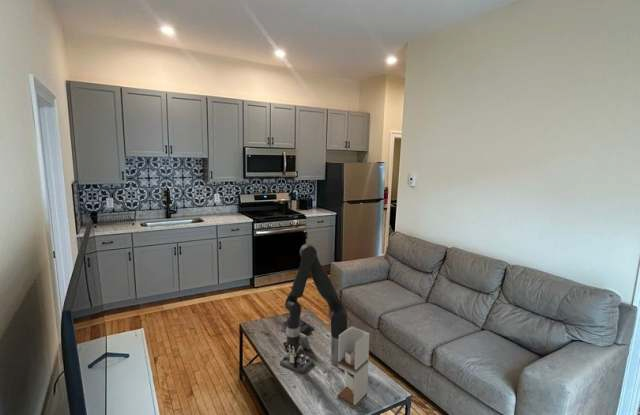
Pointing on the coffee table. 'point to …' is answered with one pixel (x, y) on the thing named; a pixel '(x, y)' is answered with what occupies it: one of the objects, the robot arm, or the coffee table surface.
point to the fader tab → (292, 357)
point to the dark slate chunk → (302, 326)
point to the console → (297, 363)
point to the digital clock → (304, 341)
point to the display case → (354, 365)
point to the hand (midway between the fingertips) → (293, 360)
